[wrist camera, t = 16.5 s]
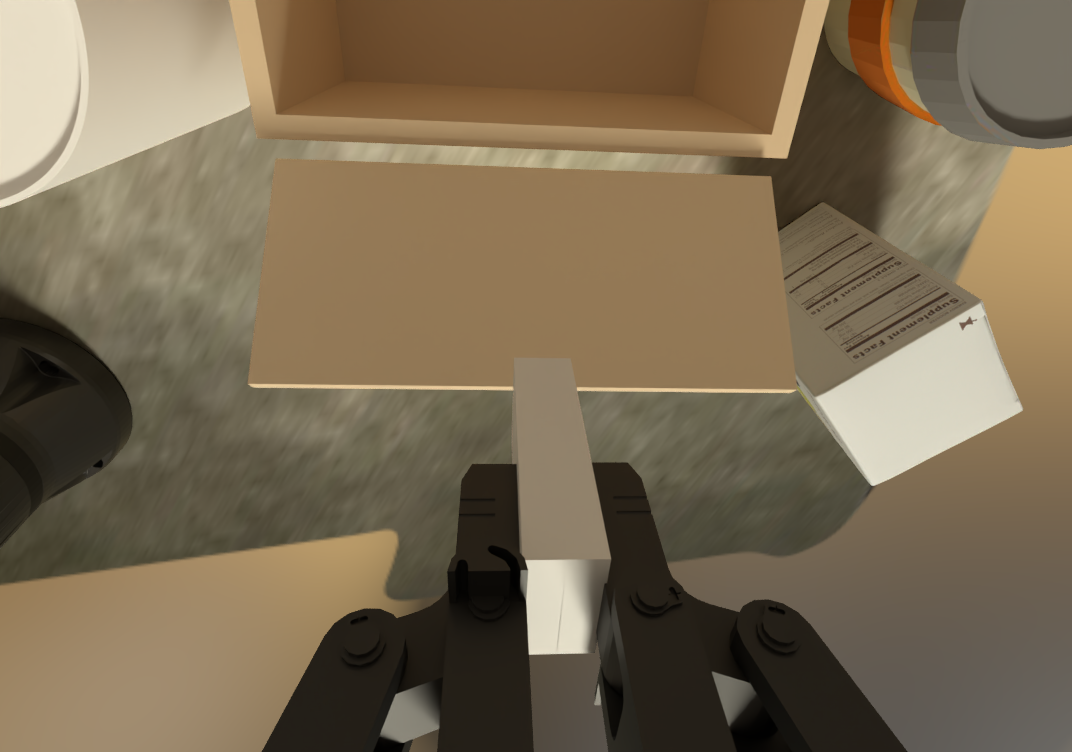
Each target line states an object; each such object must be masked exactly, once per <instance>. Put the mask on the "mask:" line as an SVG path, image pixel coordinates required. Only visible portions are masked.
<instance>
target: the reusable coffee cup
mask: <svg viewBox="0 0 1072 752" xmlns="http://www.w3.org/2000/svg"><path fill="white" fill-rule="evenodd" d="M824 29H825V34H826V39H827V42H828V45H829V47H830V50H831V52H832V54H833V55H834V56H835V58H836V59H837V60H838V62H839V63H840V64H841V65H843V66H844V67H845V68H847V69H848V70H849V71H851V72H853V73H855V74H857V75H859V76H860V77H861V78H862V79H863V81H864V82H865V83H866V85H867V86H868V87H869V88H870V89H871V90H873V91H874V92H875V93H876V94H878V95H879V96H880V97H882V98H884V99H886V100H887V101H889V102H891V103H893V104H895V105H896V106H898V107H900V108H902V109H904V110H905V111H907V112H909V113H911V114H913V115H914V116H916V117H918V118H921V119H923V120H925V121H928V122H930V123H933V124H935V125H942V126H943V127H944V128H946V129H947V130H948V131H949V132H951V133H953V134H955V135H958V136H960V137H963V138H965V139H968V140H970V141H977V142H984V143H992V144H1000V145H1009V146H1017V147H1026V148H1035V149H1045V148H1055V147H1065V146H1069V145H1072V0H830V1H829V5H828V8H827V12H826V16H825V19H824Z"/></svg>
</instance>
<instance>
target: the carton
mask: <svg viewBox="0 0 1072 752" xmlns="http://www.w3.org/2000/svg"><path fill="white" fill-rule="evenodd" d="M829 1H830V0H229V3H230V8H231V13H232V18H233V22H234V27H235V32H236V37H237V42H238V47H239V52H240V57H241V62H242V67H243V71H244V76H245V81H246V86H247V91H248V96H249V101H250V106H251V111H252V116H253V121H254V125H255V130H256V135H257V138H262V139H288V140H314V141H341V142H367V143H393V144H419V145H446V146H472V147H498V148H524V149H551V150H577V151H603V152H629V153H655V154H682V155H708V156H734V157H760V158H787V156H788V153H789V149H790V145H791V142H792V138H793V134H794V131H795V127H796V123H797V119H798V116H799V112H800V108H801V105H802V101H803V97H804V94H805V90H806V86H807V82H808V79H809V75H810V71H811V68H812V64H813V60H814V57H815V53H816V49H817V45H818V42H819V38H820V34H821V31H822V27H823V23H824V19H825V16H826V12H827V8H828V5H829Z"/></svg>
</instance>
